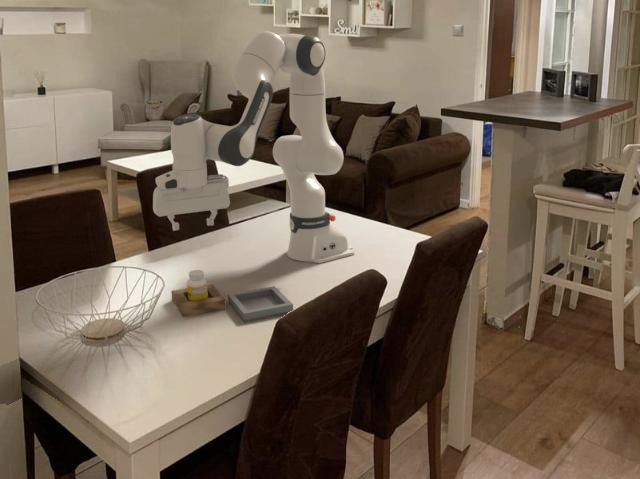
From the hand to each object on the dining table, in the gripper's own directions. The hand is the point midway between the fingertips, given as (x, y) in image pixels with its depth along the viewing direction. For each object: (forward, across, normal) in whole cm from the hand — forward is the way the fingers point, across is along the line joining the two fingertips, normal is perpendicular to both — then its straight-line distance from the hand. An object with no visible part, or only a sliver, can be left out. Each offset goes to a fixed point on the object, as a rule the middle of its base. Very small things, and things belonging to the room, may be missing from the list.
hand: (193, 227), depth 196 cm
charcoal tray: (+23, -15, +9) cm, 29 cm away
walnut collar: (+23, 0, 0) cm, 23 cm away
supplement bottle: (+23, 0, 0) cm, 23 cm away
